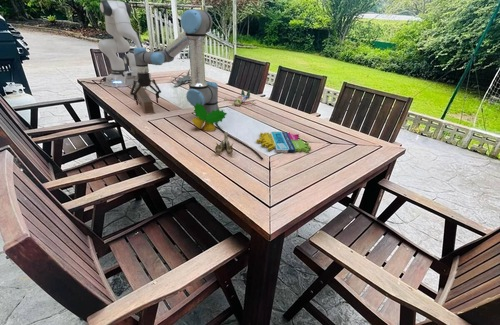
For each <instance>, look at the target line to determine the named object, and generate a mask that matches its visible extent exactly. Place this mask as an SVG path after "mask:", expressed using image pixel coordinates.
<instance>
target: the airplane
mask: <svg viewBox="0 0 500 325" xmlns="http://www.w3.org/2000/svg"><path fill="white" fill-rule="evenodd" d="M190 72H191V69H188V71H187V73H186V75H181V76H182V77H179V76H172V78H173V81H176V80H177V79H178V80H177V81H176V83H175V84H174V86H173V88H177V87H179V86H181V85H183V84H185V85H186V84H188V83H190V82H191V75H190Z"/></svg>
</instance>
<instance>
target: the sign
mask: <svg viewBox="0 0 500 325" xmlns="http://www.w3.org/2000/svg"><path fill="white" fill-rule="evenodd" d="M299 136H300V135H299V134H298V133H296V134H294V133H291V132H287V131H270V132H264V133H263V132H260V133H259V139H258V138H257V139H256V143H257V144H261V148H263V147H264V148H265V149H267V151H268V152H271V151H272V150H273V149H275V152H276V153H283V154H285V153H287V154H288V153H290V154H293V153H296V152H298V153H301V152H305V153H310V151H311V150H312V149H311V148H312V146H309V142H304V141H303V139H302V138H299Z"/></svg>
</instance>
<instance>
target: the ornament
mask: <svg viewBox="0 0 500 325" xmlns="http://www.w3.org/2000/svg"><path fill="white" fill-rule="evenodd" d="M219 110H220V108H219V109H217V110H216V111H214V110H212V112H211V113H208V112H206V109H204V106H201V104H198V103H197V102H196V106H193V112H194V113H195V118H192V119H191V122H192V123H193V125H195V127H197V128H198V129H202V130H203V131H206V132H212V131H213V132H214V131H215V130H216V126H215V124H216V123H217V124H218V123H219V122H223V119H226V115H227V114H228V113H227V112H224V110H223V109H221V110H220V111H219ZM207 113H208V115H207ZM214 123H215V124H214Z"/></svg>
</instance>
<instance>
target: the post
mask: <svg viewBox="0 0 500 325" xmlns="http://www.w3.org/2000/svg"><path fill="white" fill-rule="evenodd" d="M137 87H138V85H135V88H134V91H135V90H136V89H137ZM136 95H137V101H139V102H138V103H139V104H140V105H141V108H142V109H143V111H144V114H154V113H155V111H154V103H153V101H152V99H151V97H150V96H149V94H148V93H147V90H144V87H141V88H140V89H139V91H138V92H137V93H136Z"/></svg>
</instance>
